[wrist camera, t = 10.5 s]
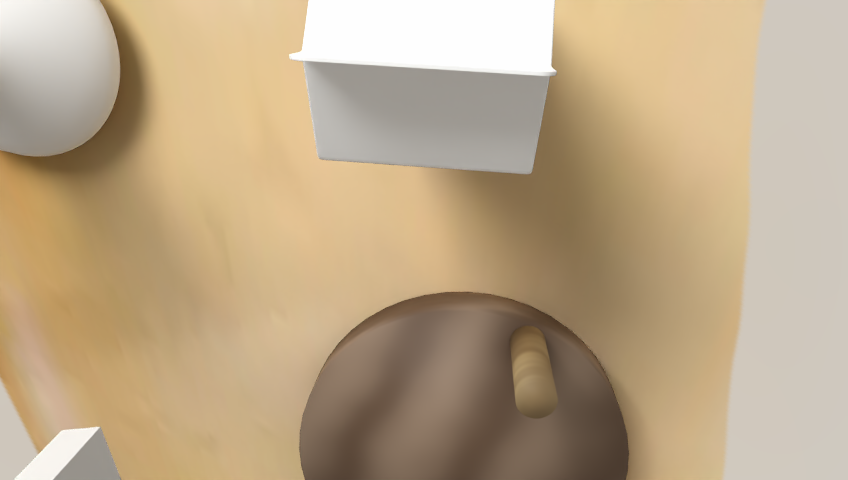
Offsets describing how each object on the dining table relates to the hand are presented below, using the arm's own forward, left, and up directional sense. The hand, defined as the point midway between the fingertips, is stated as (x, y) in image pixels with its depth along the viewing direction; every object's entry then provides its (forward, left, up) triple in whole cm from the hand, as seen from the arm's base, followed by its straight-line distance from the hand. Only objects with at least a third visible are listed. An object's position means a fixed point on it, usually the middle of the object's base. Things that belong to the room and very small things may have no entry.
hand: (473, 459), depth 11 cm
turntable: (-6, -18, -27) cm, 33 cm away
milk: (0, +6, -27) cm, 28 cm away
